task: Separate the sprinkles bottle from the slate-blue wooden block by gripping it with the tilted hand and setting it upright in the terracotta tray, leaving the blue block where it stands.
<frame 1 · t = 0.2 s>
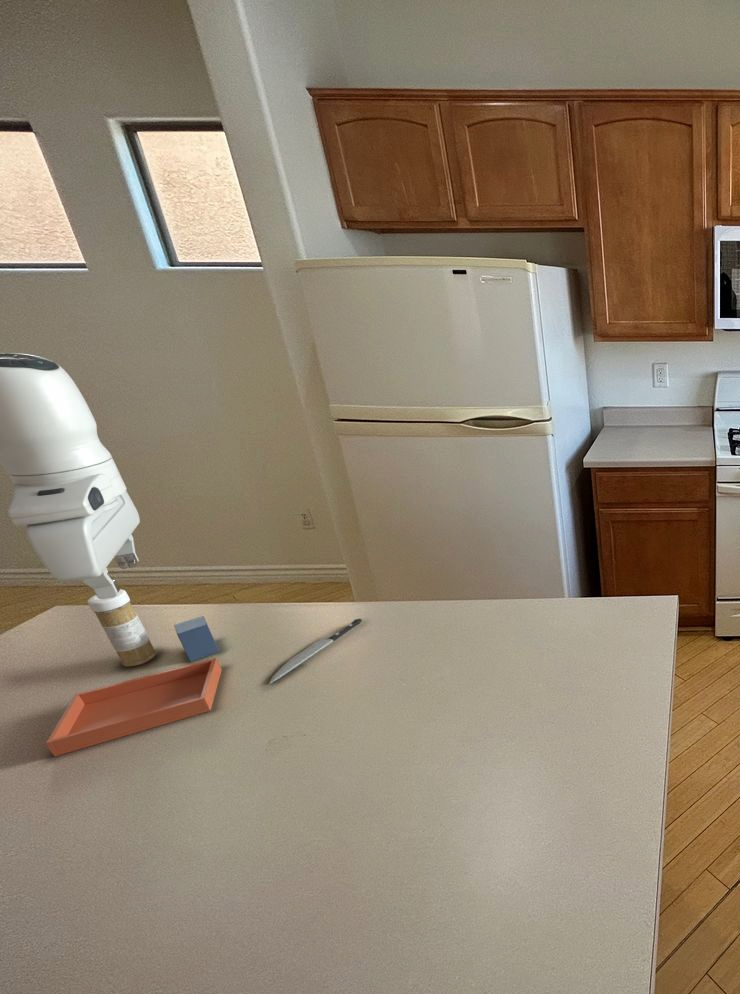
hand: (120, 580, 76), 25 cm above the counter, tool pointing down, fingers open, 8 cm apart
tray: (146, 708, 87), on the counter
sprinkles bottle: (140, 660, 98), on the counter
chef's knife: (314, 650, 101), on the counter
blue block: (203, 651, 100), on the counter
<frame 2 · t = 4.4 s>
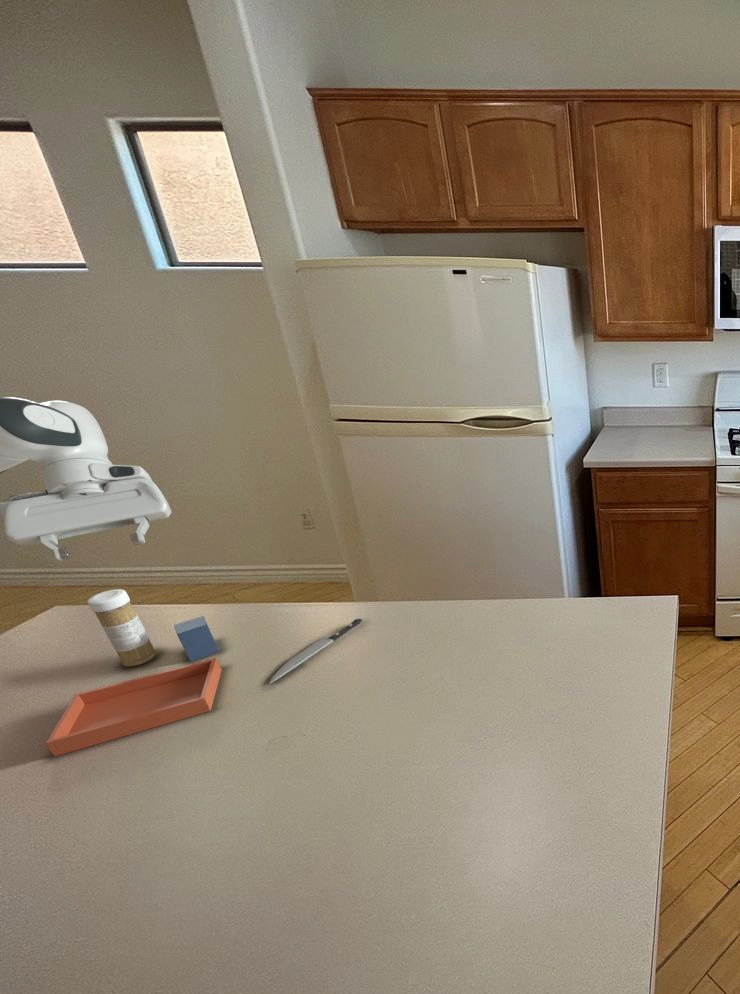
hand: (102, 551, 99), 17 cm above the counter, tool tilted 45°, fingers open, 8 cm apart
nothing on the counter moved.
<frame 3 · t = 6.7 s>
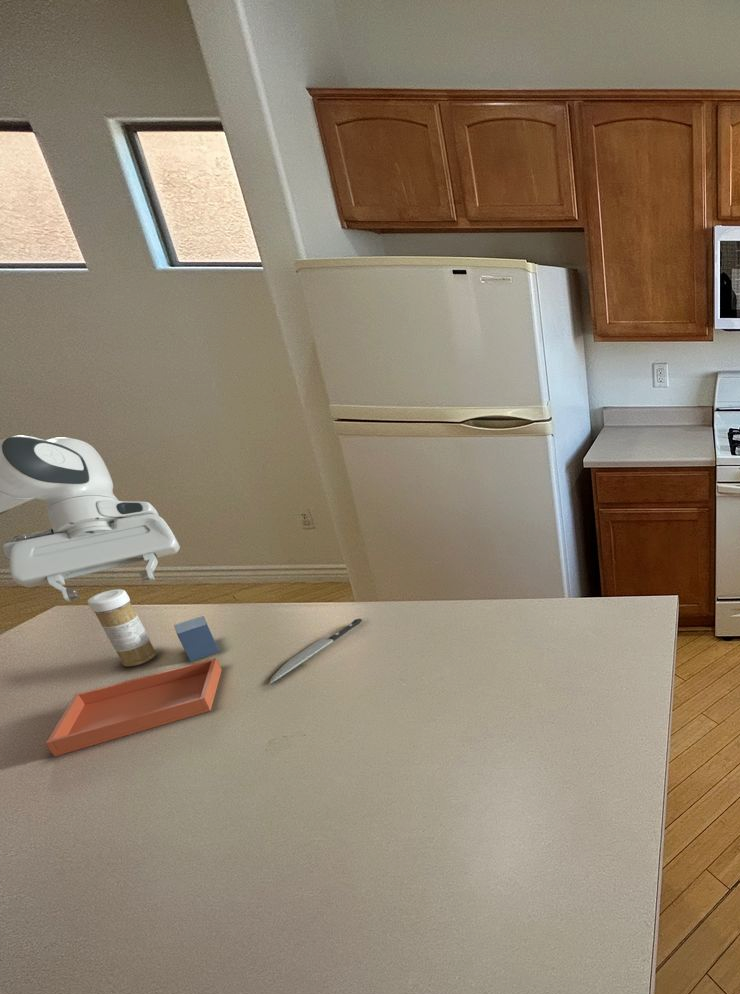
hand: (111, 589, 97), 12 cm above the counter, tool tilted 45°, fingers open, 8 cm apart
nothing on the counter moved.
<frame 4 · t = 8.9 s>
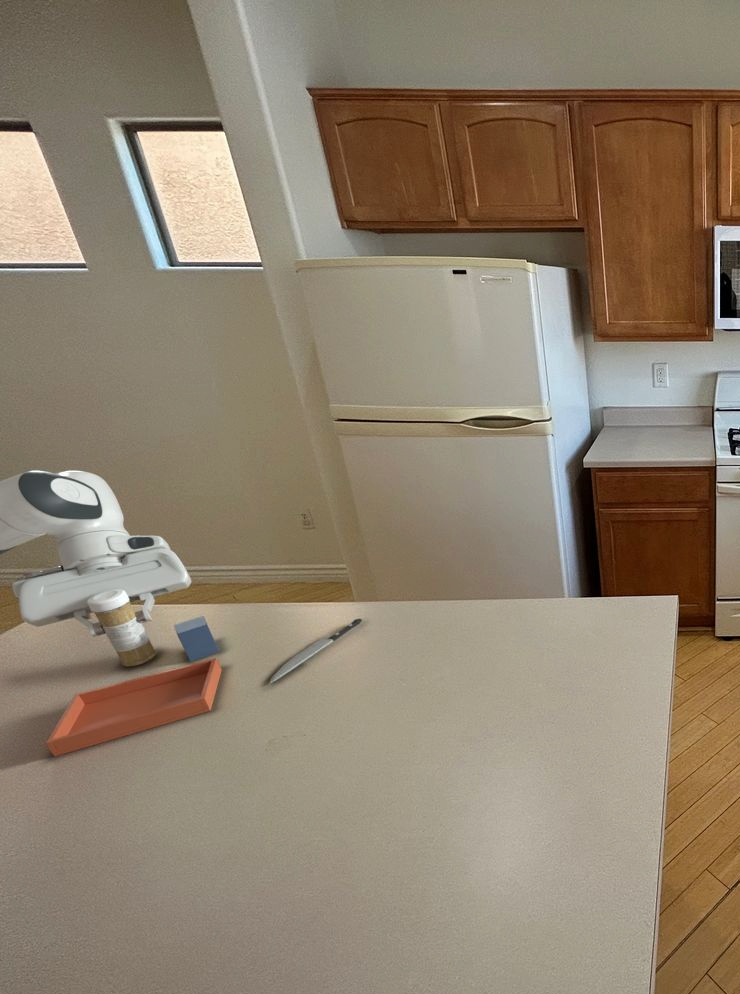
hand: (122, 627, 95), 7 cm above the counter, tool tilted 45°, fingers closed on sprinkles bottle, 4 cm apart
sprinkles bottle: (140, 660, 98), on the counter, touching gripper
everything else where it was.
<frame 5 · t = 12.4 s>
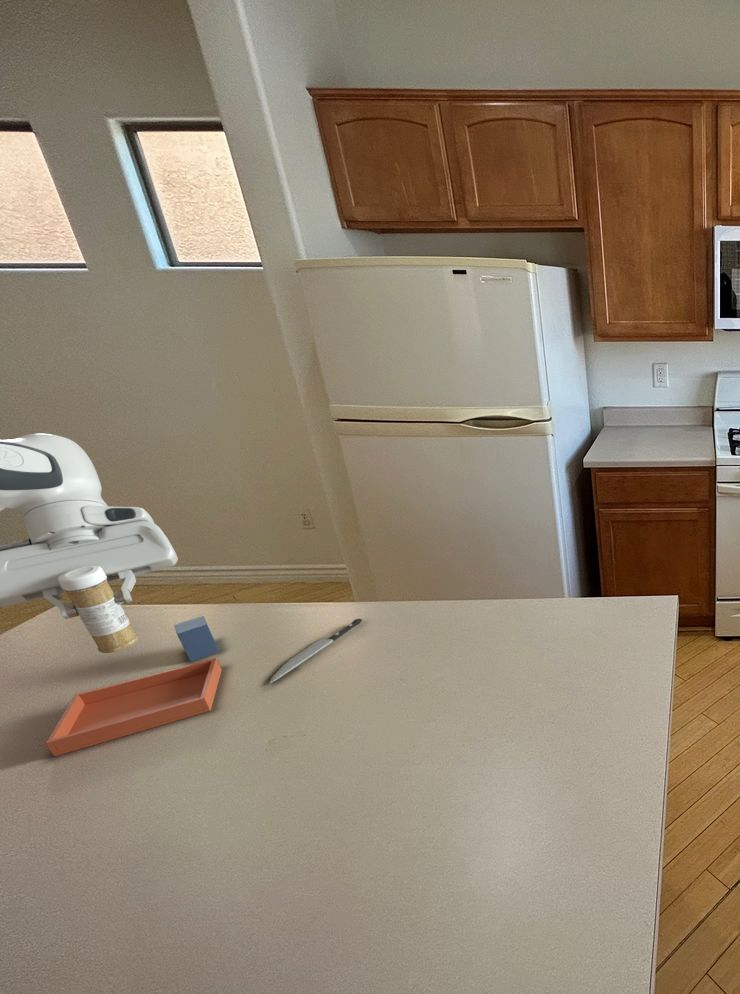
hand: (99, 609, 84), 16 cm above the counter, tool tilted 45°, fingers closed on sprinkles bottle, 4 cm apart
sprinkles bottle: (120, 646, 87), point 9 cm above the counter, touching gripper
everything else where it was.
when the fingers open (8 cm above the counter, at t = 16.0 s): sprinkles bottle stays where it is, resting on tray.
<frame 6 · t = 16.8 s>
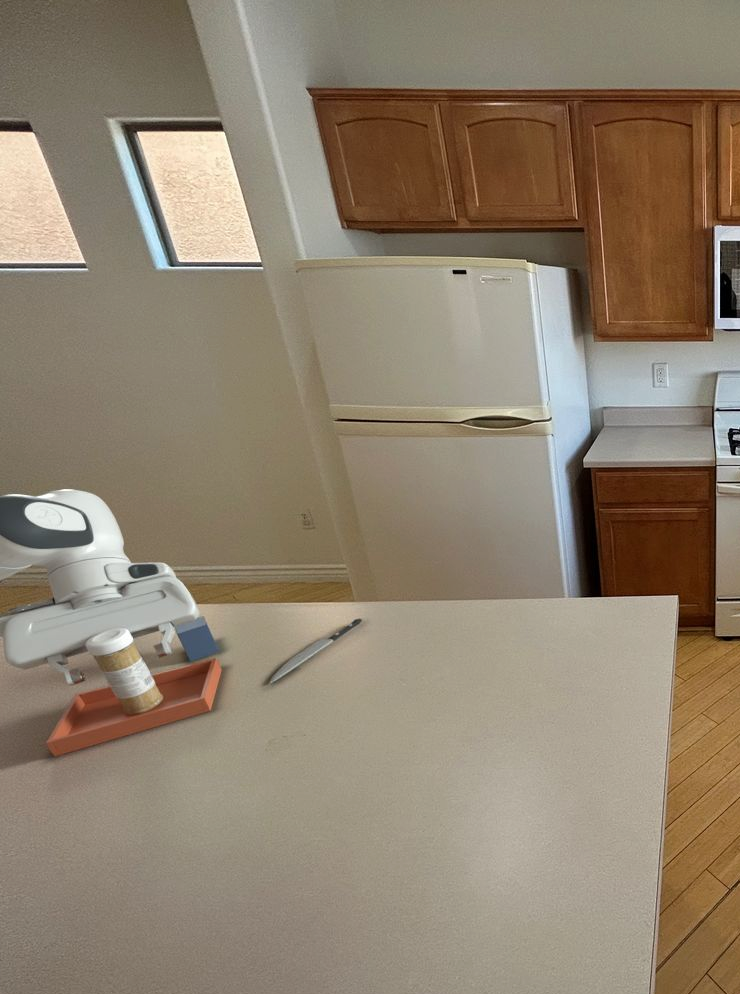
hand: (122, 668, 83), 8 cm above the counter, tool tilted 45°, fingers open, 8 cm apart
sprinkles bottle: (145, 706, 87), resting on tray
everything else where it was.
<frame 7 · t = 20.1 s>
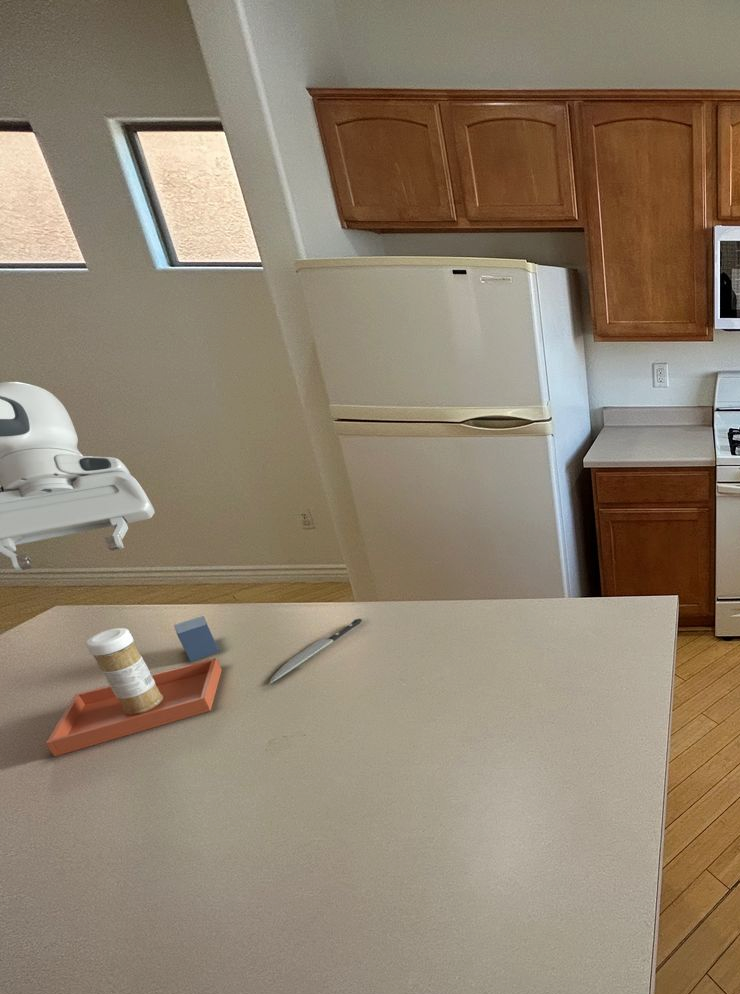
hand: (71, 558, 83), 24 cm above the counter, tool tilted 45°, fingers open, 8 cm apart
nothing on the counter moved.
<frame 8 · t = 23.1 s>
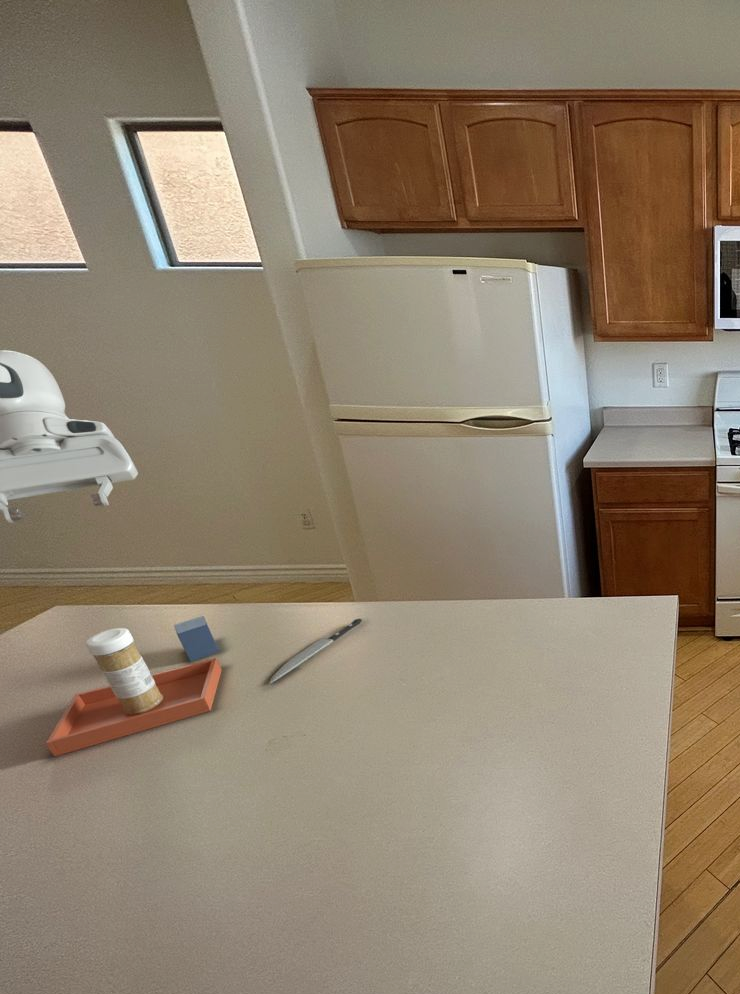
hand: (59, 512, 89), 27 cm above the counter, tool tilted 45°, fingers open, 8 cm apart
nothing on the counter moved.
at the end: sprinkles bottle inside the target area in the tray (0.0 cm from its centre), point 0.4 cm above the tray's base; sprinkles bottle tilted 0°; blue block moved 0.0 cm from its start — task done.
